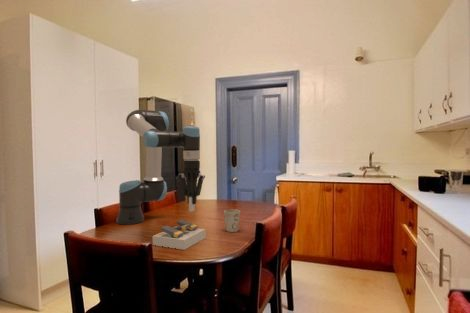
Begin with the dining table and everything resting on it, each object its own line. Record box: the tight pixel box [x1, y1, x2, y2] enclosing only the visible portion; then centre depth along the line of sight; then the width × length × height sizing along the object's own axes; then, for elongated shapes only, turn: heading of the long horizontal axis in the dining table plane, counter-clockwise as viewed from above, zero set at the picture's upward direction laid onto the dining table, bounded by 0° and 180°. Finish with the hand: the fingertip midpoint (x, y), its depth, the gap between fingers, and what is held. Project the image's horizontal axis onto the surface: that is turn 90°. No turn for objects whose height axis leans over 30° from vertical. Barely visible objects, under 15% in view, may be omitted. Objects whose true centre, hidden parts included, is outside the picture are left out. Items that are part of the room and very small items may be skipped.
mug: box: [223, 208, 241, 233], centre depth 152 cm, size 8×13×10 cm, turn 27°
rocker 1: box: [160, 224, 184, 238], centre depth 126 cm, size 9×4×1 cm, turn 67°
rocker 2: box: [171, 224, 191, 230], centre depth 132 cm, size 9×4×1 cm, turn 67°
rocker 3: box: [176, 219, 199, 231], centre depth 138 cm, size 9×4×1 cm, turn 67°
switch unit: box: [152, 225, 206, 251], centre depth 132 cm, size 16×18×5 cm
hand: (191, 210), depth 136 cm, fingers closed
